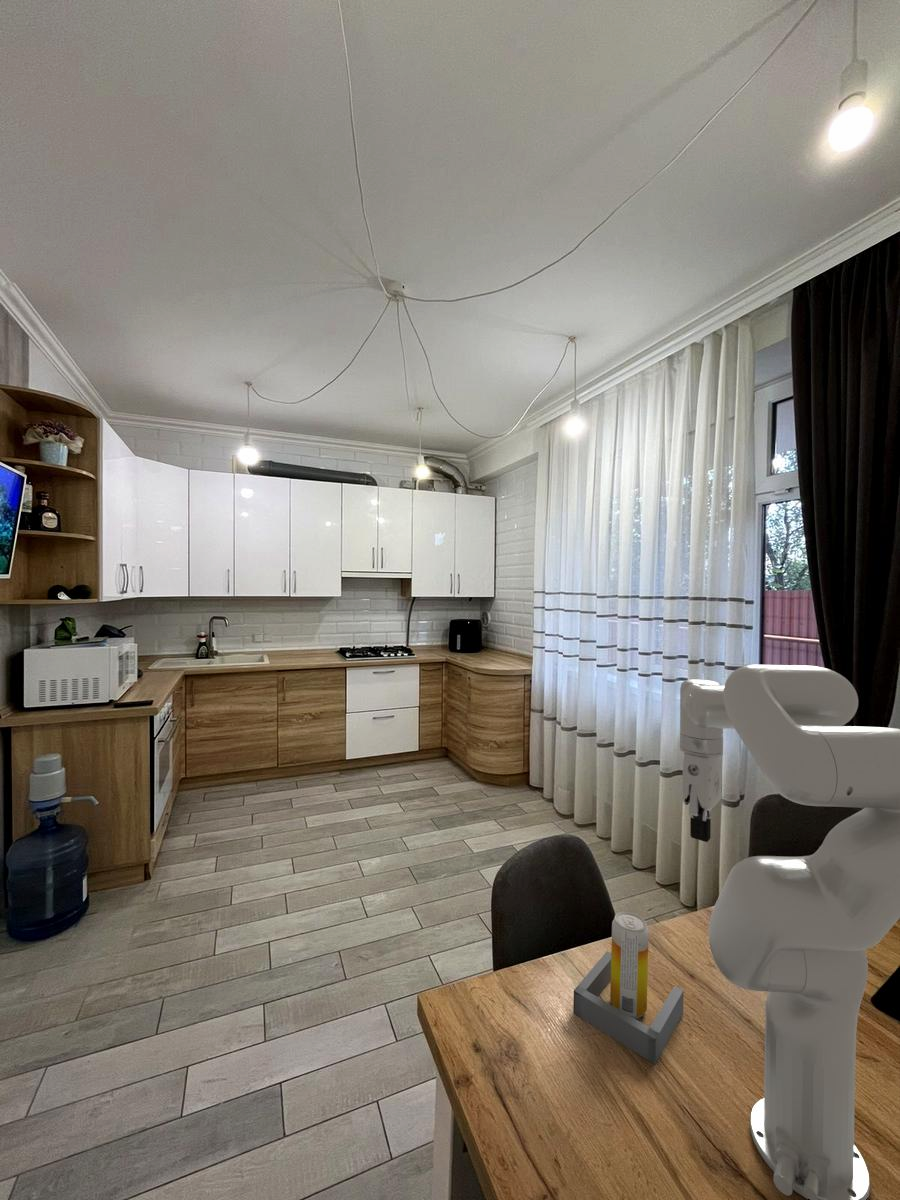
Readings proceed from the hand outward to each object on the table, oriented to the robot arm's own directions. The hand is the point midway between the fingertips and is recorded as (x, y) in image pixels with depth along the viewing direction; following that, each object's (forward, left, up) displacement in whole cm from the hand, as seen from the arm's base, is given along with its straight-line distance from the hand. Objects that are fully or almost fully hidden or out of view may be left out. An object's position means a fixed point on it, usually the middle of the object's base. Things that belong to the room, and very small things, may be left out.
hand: (700, 838), depth 97 cm
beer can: (-18, +6, -26) cm, 32 cm away
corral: (-19, +6, -26) cm, 32 cm away
